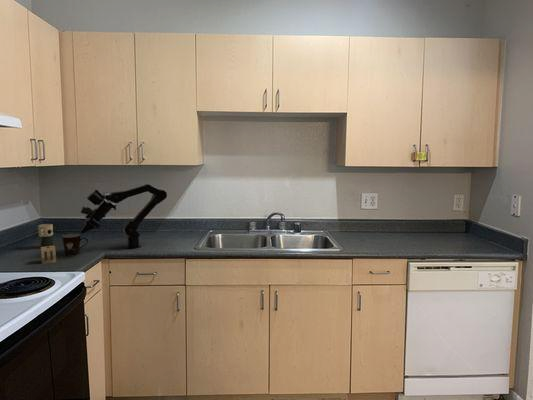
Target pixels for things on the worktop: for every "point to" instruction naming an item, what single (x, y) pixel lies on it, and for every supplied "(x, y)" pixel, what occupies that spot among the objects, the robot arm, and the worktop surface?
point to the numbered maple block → (48, 254)
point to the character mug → (46, 234)
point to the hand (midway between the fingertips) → (80, 233)
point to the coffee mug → (72, 243)
